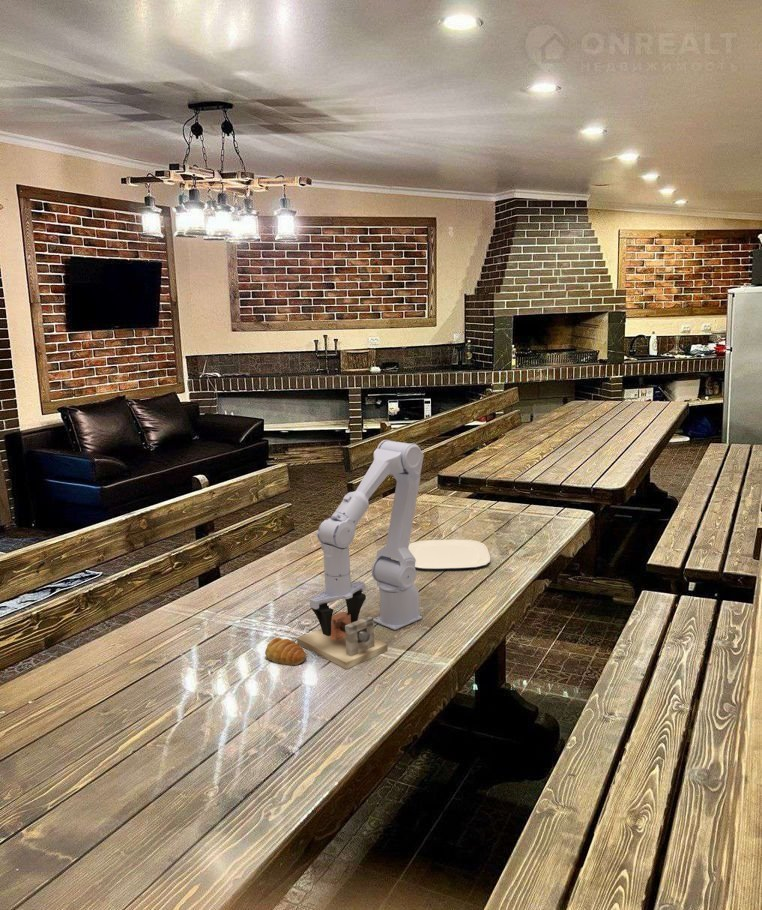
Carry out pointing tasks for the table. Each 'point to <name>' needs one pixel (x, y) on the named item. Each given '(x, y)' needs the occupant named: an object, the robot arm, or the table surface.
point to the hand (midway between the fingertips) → (340, 629)
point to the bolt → (339, 627)
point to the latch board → (345, 644)
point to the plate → (449, 554)
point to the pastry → (285, 652)
